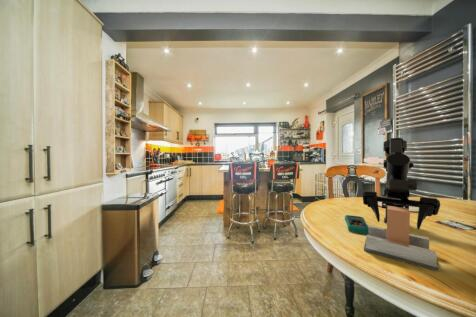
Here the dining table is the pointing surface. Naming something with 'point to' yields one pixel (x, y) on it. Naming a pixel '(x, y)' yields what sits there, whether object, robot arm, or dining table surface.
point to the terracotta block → (398, 224)
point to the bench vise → (401, 248)
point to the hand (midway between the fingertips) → (397, 224)
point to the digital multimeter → (356, 224)
